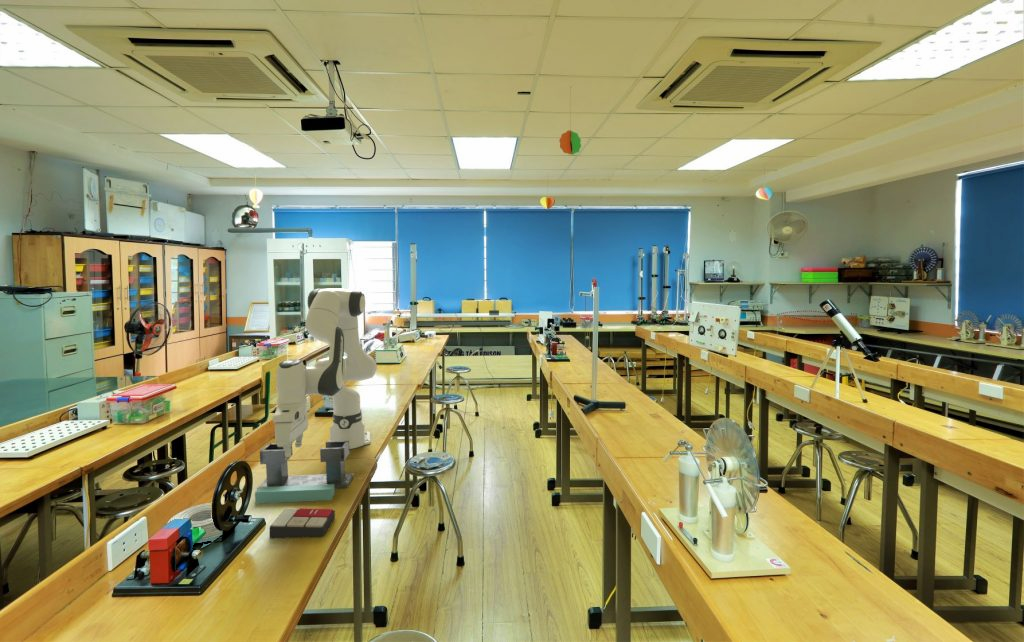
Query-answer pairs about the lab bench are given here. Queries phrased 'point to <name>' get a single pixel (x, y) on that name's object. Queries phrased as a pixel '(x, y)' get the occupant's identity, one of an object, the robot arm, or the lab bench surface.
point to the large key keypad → (302, 523)
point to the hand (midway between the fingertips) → (293, 451)
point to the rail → (294, 493)
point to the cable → (200, 519)
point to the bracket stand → (334, 475)
